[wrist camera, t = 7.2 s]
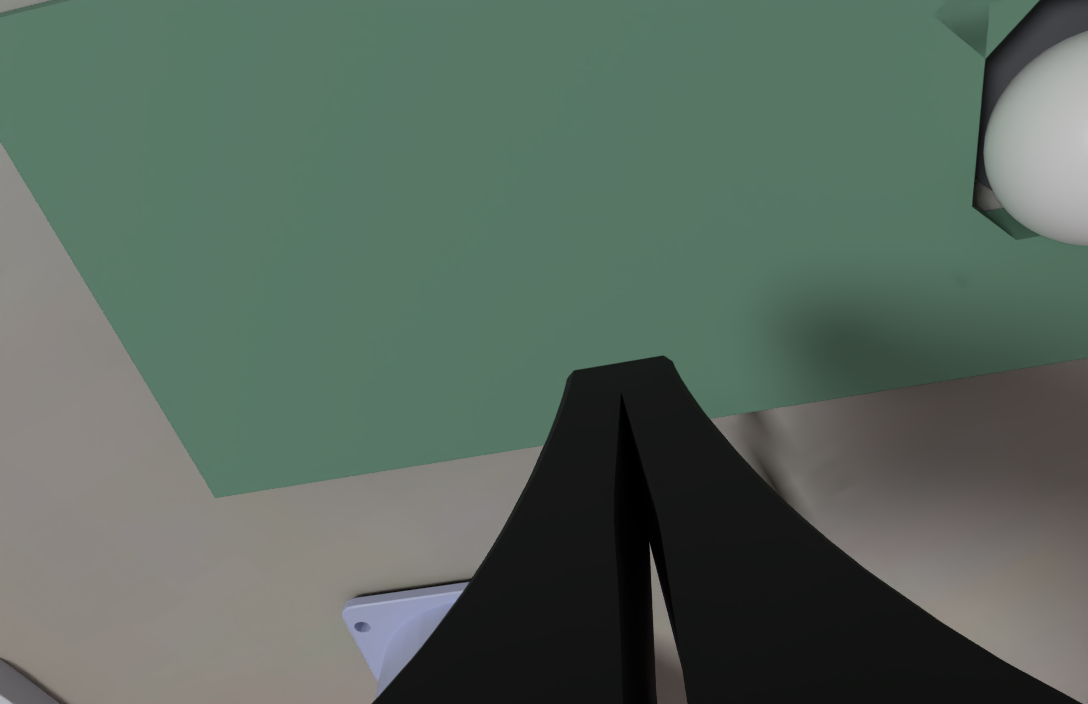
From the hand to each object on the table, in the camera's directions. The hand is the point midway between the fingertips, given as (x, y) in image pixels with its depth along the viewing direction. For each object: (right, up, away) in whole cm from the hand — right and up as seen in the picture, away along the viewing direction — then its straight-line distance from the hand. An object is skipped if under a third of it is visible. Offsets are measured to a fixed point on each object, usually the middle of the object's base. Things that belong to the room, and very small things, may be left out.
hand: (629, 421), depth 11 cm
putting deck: (+2, +5, +7) cm, 9 cm away
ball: (+9, +5, +4) cm, 11 cm away
